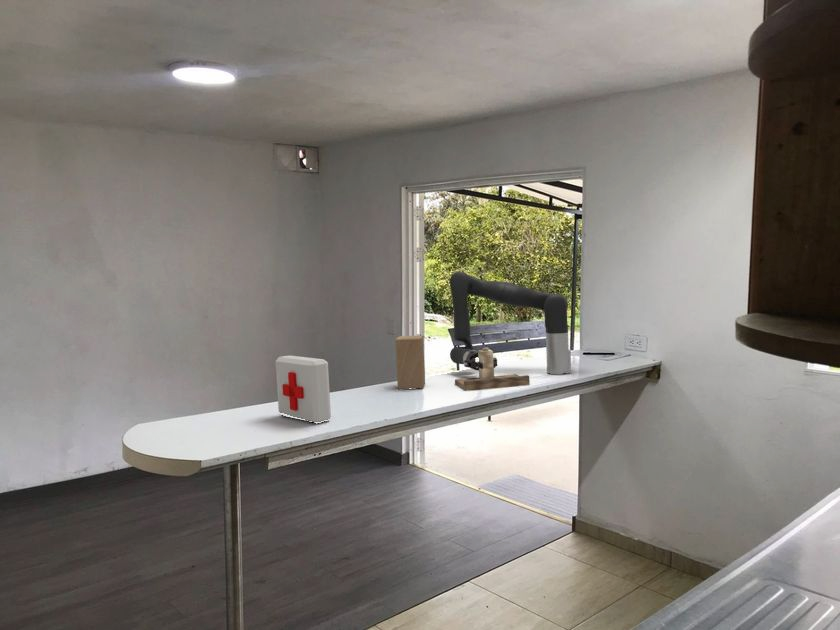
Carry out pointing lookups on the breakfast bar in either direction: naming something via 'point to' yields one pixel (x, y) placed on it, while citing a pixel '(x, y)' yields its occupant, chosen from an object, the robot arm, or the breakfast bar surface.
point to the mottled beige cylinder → (486, 363)
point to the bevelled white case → (303, 388)
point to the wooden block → (410, 362)
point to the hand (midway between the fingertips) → (488, 365)
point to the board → (488, 386)
